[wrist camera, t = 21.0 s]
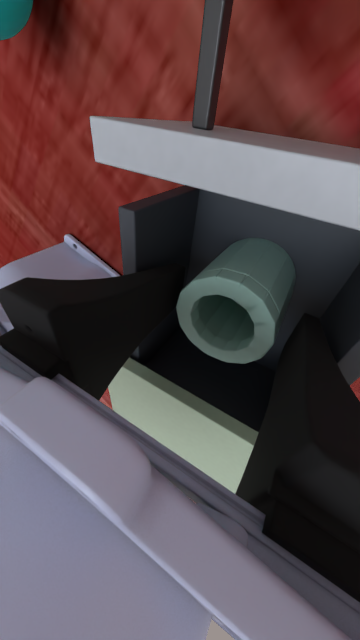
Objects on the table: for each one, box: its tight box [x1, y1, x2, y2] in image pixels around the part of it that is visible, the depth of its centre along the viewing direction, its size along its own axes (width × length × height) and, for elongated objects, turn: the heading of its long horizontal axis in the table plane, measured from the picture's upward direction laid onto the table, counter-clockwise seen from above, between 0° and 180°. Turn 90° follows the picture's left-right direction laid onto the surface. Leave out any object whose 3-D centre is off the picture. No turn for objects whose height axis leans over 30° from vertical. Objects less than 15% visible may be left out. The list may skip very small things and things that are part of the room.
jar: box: [176, 238, 296, 364], centre depth 12 cm, size 4×5×5 cm
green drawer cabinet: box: [108, 357, 259, 494], centre depth 20 cm, size 15×13×9 cm
